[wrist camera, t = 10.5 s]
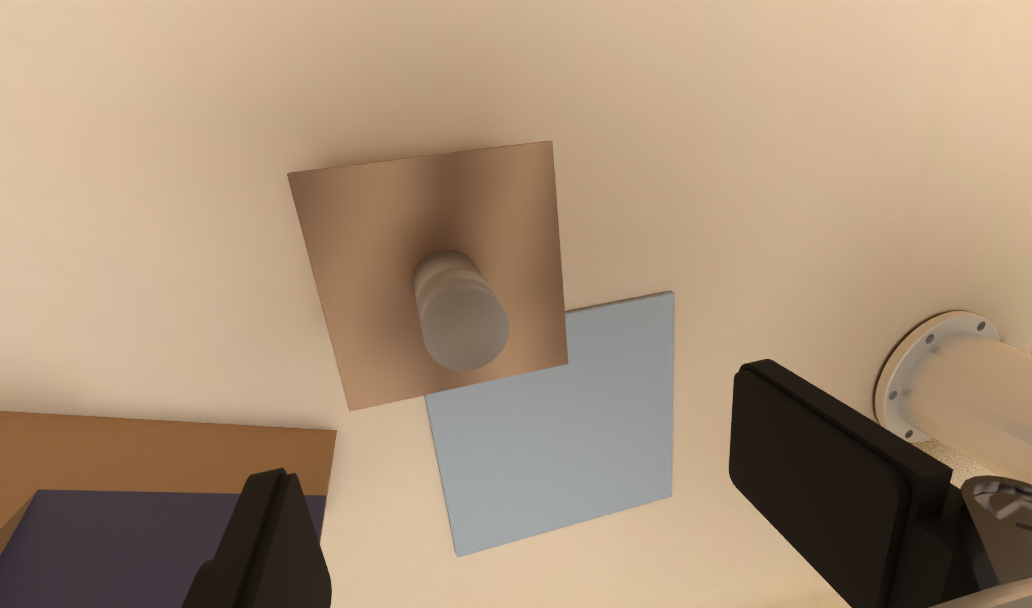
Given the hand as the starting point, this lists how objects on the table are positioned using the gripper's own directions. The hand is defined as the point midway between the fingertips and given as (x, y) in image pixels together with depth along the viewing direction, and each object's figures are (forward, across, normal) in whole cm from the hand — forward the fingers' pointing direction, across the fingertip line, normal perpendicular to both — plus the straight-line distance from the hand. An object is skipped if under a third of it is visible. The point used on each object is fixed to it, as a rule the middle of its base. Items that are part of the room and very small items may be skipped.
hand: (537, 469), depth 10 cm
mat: (+22, -6, +15) cm, 27 cm away
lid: (+14, 0, 0) cm, 14 cm away
